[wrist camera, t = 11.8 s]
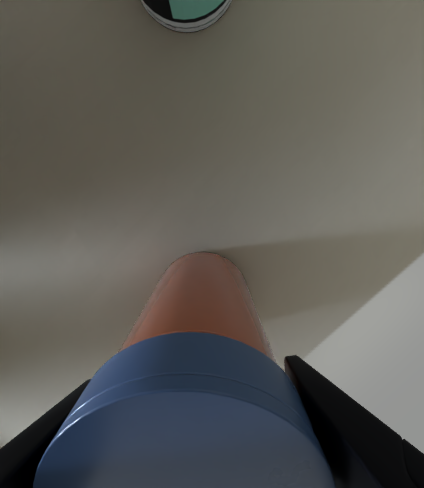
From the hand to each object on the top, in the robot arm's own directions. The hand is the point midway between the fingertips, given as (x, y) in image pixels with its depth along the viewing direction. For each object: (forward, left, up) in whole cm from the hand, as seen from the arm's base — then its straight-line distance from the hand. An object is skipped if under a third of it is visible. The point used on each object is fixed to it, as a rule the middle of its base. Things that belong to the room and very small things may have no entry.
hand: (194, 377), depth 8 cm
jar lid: (+1, 0, +3) cm, 3 cm away
